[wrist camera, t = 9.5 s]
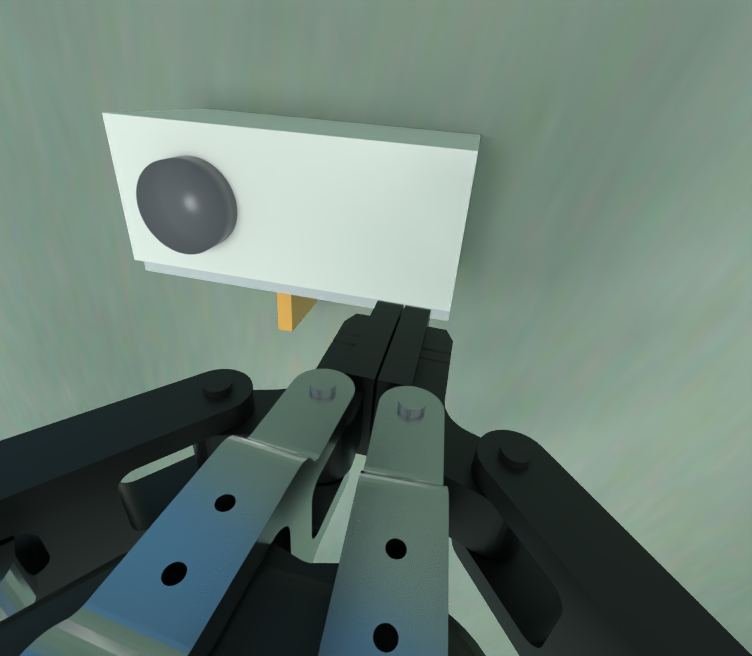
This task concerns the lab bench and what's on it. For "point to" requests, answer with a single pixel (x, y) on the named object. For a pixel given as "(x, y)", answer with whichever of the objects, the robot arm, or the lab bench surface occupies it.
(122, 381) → the lab bench surface
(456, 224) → the camera housing
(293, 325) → the side door
